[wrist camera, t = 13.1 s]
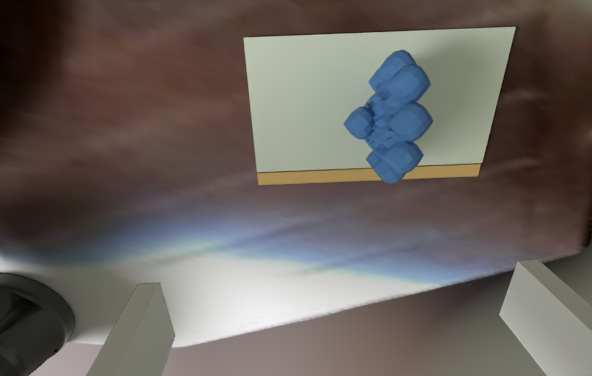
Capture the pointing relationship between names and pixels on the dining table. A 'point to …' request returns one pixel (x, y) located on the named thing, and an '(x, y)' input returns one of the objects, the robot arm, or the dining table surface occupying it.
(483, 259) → the dining table surface
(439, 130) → the mat
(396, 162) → the grapes
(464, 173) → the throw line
